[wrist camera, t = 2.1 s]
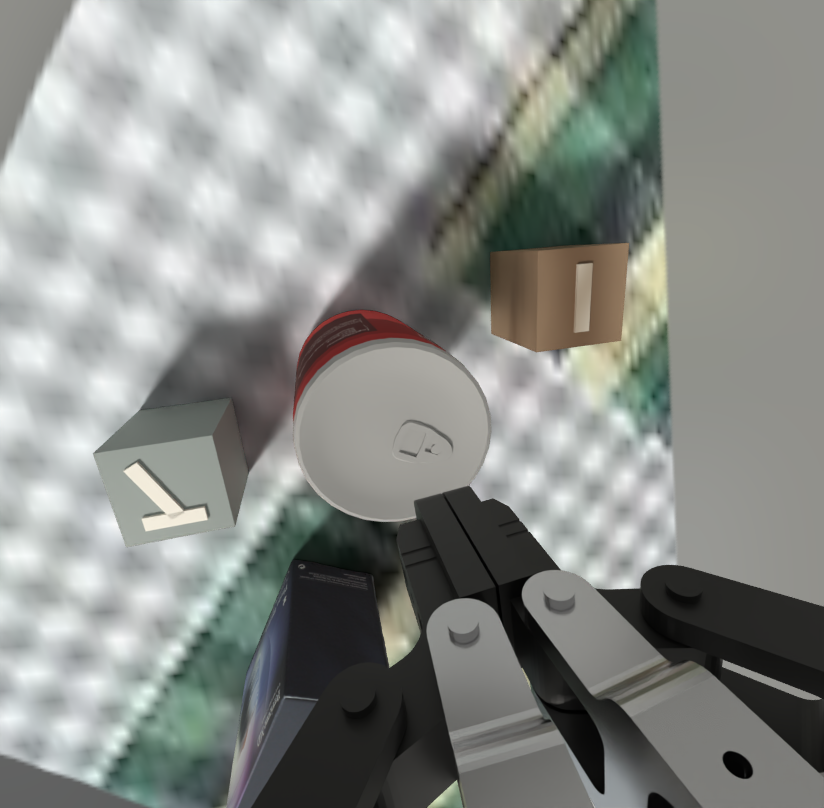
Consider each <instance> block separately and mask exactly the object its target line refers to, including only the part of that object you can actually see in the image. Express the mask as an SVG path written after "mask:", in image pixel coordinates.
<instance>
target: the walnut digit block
mask: <svg viewBox="0 0 824 808" xmlns="http://www.w3.org/2000/svg"><path fill="white" fill-rule="evenodd" d="M628 249H629V243H614V244H590V245H567V246H554V247H543V248H531V249H520V250H509V251H497V252H490V278H491V334H493V335H496V336H498V337H501V338H503V339H506V340H508V341H510V342H513V343H515V344H518V345H520V346H523V347H525V348H528V349H530V350H532V351H535V352H542V351H549V350H556V349H564V348H571V347H578V346H586V345H593V344H600V343H608V342H615V341H621V335H622V322H623V310H624V298H625V286H626V274H627V262H628Z"/></svg>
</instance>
